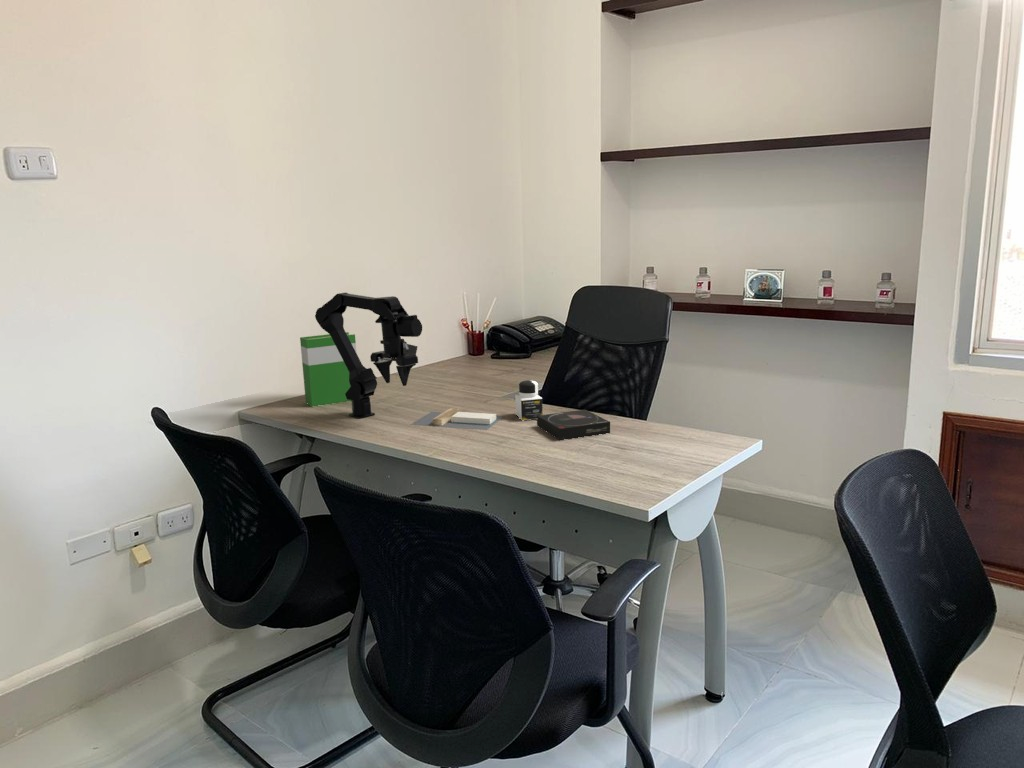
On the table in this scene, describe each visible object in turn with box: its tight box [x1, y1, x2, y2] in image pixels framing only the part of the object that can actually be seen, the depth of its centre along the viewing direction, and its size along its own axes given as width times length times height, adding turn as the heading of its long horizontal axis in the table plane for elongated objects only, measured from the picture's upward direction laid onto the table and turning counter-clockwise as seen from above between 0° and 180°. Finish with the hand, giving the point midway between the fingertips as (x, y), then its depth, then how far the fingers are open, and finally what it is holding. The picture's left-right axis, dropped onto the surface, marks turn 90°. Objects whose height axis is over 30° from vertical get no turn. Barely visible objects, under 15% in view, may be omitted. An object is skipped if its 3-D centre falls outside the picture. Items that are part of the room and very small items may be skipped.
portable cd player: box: [536, 409, 611, 441], centre depth 234 cm, size 16×17×4 cm
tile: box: [451, 411, 497, 425], centre depth 244 cm, size 2×6×13 cm
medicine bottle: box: [514, 379, 544, 421], centre depth 248 cm, size 7×7×12 cm
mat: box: [410, 411, 505, 431], centre depth 246 cm, size 26×16×1 cm, turn 71°
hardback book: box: [299, 331, 357, 407], centre depth 275 cm, size 18×7×24 cm, turn 122°
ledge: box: [433, 407, 460, 426], centre depth 247 cm, size 3×14×2 cm, turn 161°
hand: (396, 384), depth 248 cm, fingers open, 9 cm apart
